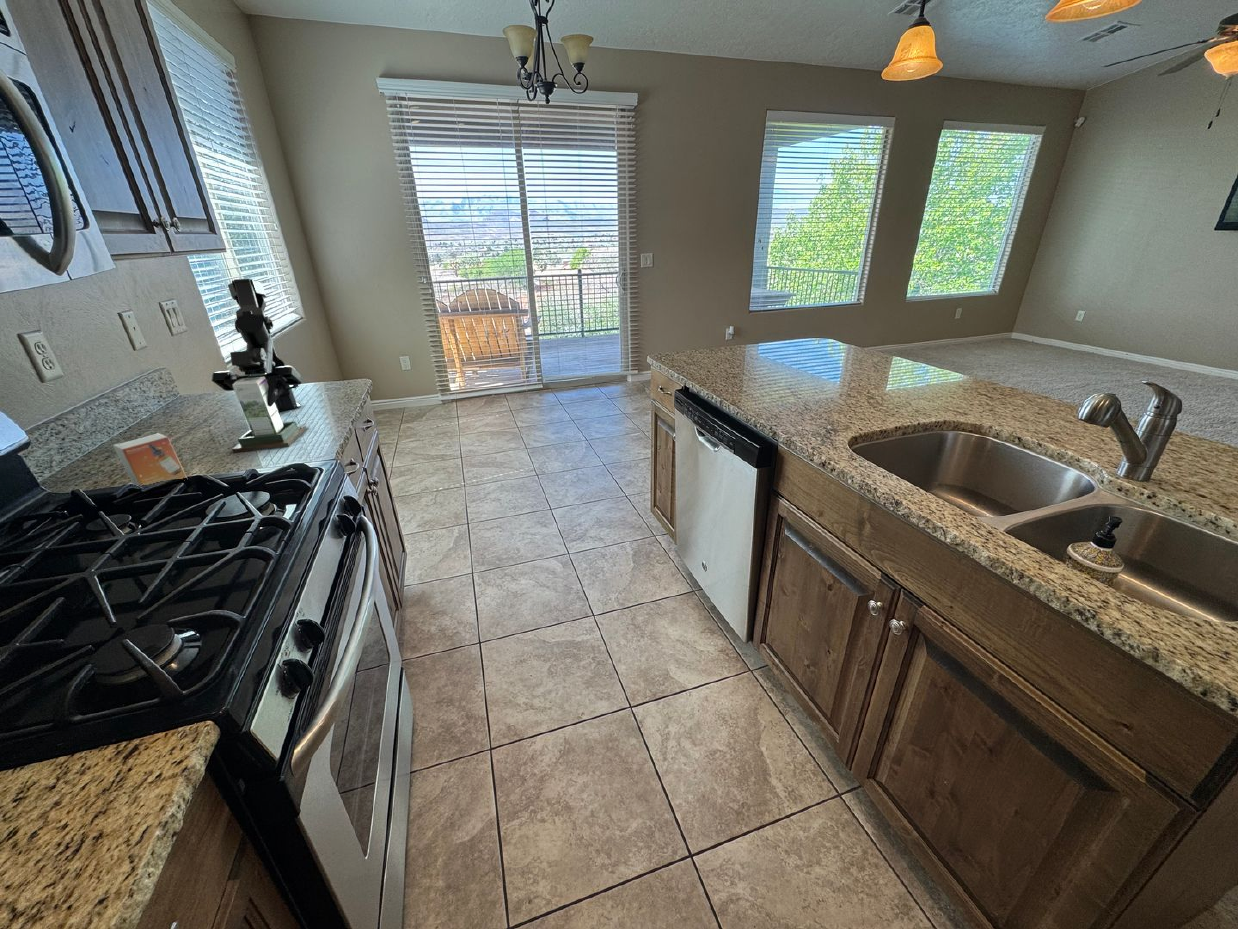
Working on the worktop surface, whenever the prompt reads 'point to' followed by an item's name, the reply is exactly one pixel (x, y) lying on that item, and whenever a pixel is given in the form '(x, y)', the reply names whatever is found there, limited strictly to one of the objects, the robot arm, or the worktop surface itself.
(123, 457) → the small box
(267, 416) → the syrup box
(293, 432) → the pad
